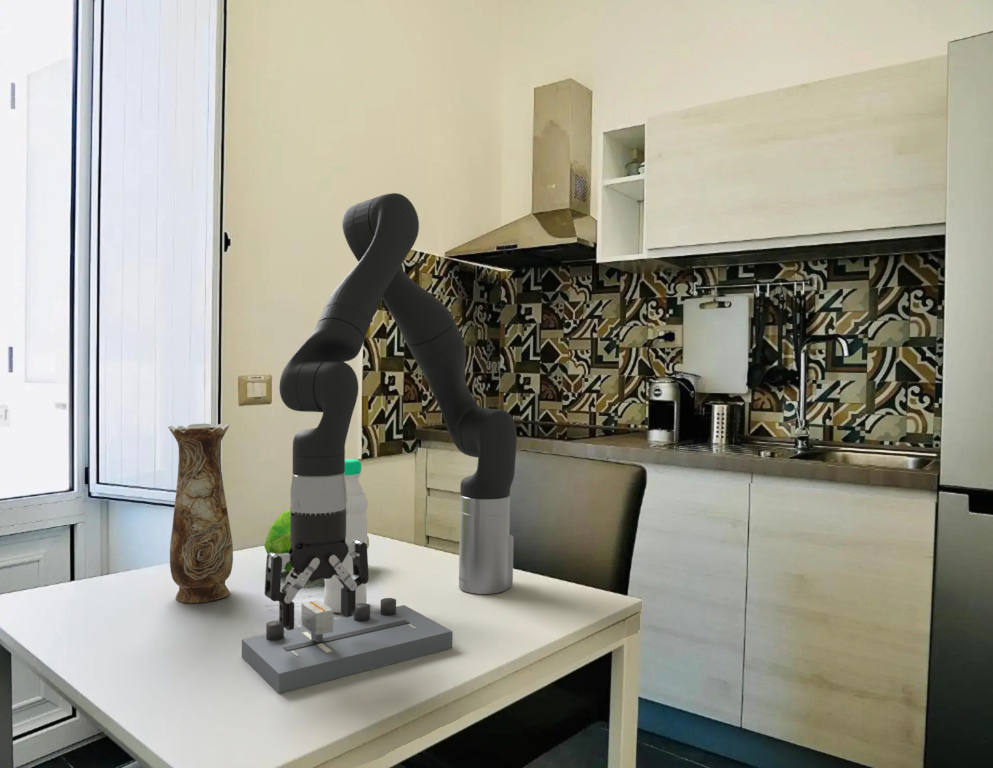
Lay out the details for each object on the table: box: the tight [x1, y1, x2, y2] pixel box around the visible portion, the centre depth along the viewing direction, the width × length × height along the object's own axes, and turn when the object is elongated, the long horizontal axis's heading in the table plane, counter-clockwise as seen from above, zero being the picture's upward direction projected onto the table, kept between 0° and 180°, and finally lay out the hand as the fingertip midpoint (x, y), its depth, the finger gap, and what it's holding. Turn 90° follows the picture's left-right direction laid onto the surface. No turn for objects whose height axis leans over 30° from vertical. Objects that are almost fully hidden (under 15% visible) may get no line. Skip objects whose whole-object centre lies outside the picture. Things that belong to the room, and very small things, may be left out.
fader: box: [300, 599, 334, 642], centre depth 103 cm, size 2×5×5 cm, turn 37°
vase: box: [167, 423, 234, 604], centre depth 129 cm, size 10×11×30 cm
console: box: [241, 597, 454, 694], centre depth 106 cm, size 26×14×4 cm, turn 127°
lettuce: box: [263, 509, 370, 573], centre depth 146 cm, size 15×20×14 cm
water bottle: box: [323, 458, 369, 614], centre depth 125 cm, size 7×7×25 cm
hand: (318, 621), depth 103 cm, fingers open, 8 cm apart
